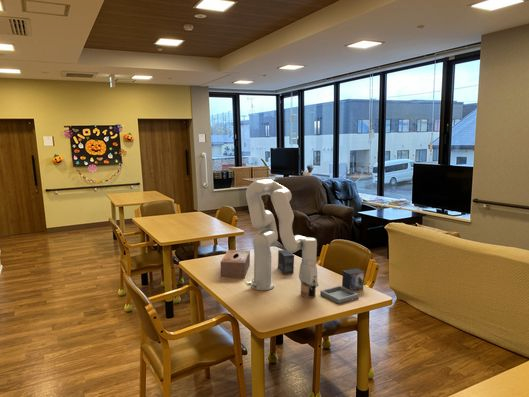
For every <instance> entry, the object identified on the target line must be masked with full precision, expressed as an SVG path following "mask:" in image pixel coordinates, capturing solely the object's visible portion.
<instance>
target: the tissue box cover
mask: <svg viewBox="0 0 529 397" xmlns="http://www.w3.org/2000/svg"><path fill="white" fill-rule="evenodd" d="M250 252H251V251H250V250H245V249H244V250H241V249H240V250H239V249H228V250H226V252H225V254H224V255H223V257H222V259H221V261H220V278H222V279H245V278H246V276H247V272H248V271H249V268H250V265H251V264H250V262H251V261H250V260H251V259H250V258H251V255H250V254H251V253H250Z"/></svg>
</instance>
